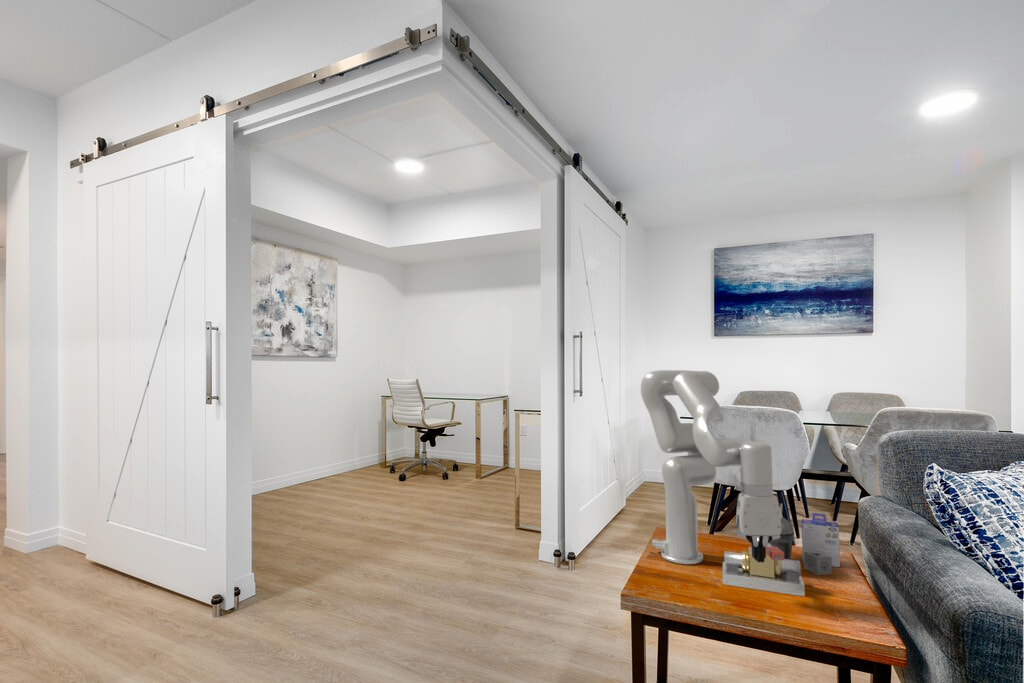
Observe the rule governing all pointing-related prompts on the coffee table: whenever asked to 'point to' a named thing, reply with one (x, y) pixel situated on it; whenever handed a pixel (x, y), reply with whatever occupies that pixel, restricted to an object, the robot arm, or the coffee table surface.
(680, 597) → the coffee table surface
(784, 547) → the beverage cup
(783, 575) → the pipe valve board
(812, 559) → the dice cube
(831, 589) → the coffee table surface
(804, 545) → the ink cartridge box
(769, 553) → the valve lever
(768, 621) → the coffee table surface
